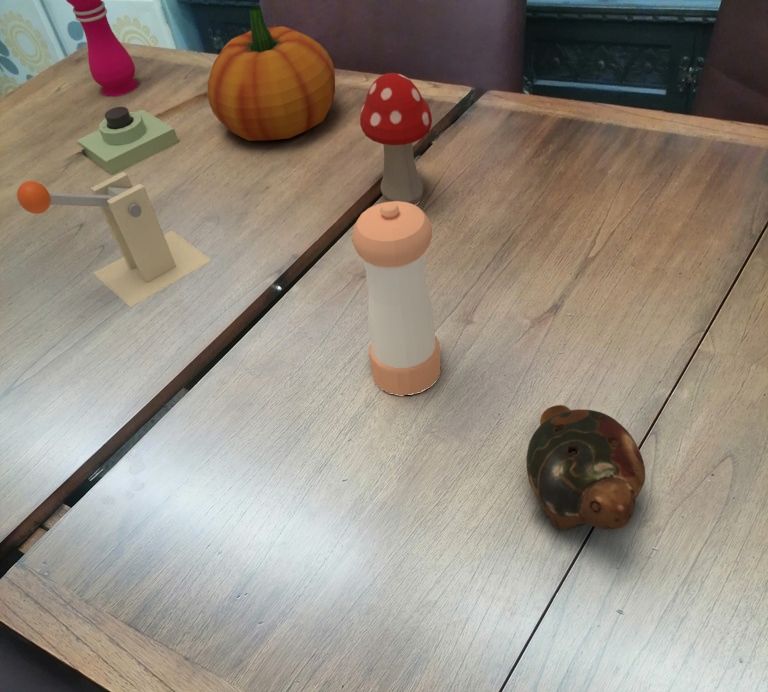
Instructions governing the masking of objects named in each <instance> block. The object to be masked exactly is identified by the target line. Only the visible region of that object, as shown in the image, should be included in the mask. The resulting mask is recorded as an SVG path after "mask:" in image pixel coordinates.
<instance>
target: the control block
mask: <svg viewBox="0 0 768 692" xmlns="http://www.w3.org/2000/svg"><path fill="white" fill-rule="evenodd" d="M129 114H130V116H131V119H132V123H131V124H130V125H129V126H127V127H125V128H121V129H110V128H109V125H108V123H107V121H106V118H105V117H104V119H103V120H102V121H101V122H100V123H99V126H98V129H97V130H95V131H93V132H91V133H89V134H87V135H84V136H82V137H81V138H79V139H76V142H77V145H79V146H80V147H81V148H82V149H81V150H80V151H81V153H82V154H83V155H84V156H85V157H86V158H88V159H89V160H91V161H92V162H93V163H95V164H96V165H97V166H99V167H100V168H102V170H104V171H106V172H107V173H108V174H110V175H111V176H113V175H115V174H118V173H119V172H121V171H123V170H126V169H128V168H129V167H131V166H133V165H135V164H137V163H139V162H141V161H143V160H145V159H147V158H149V157H151V156H154V155H155V154H157V153H159V152H161V151H164V150H166V149H167V148H169V147H171V146H173V145H176V144H177V143H179V139H178V136H177V134H176V130H175V128H174V127H173V126H171V125H169V124H168V123H166V122H165V121H162V120H161V119H159V118H158V117H156V116H154V115H153V114H151V113H149V112H148V111H146V110H145V109H143V108H142V109H140V110H138V111H129Z"/></svg>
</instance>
